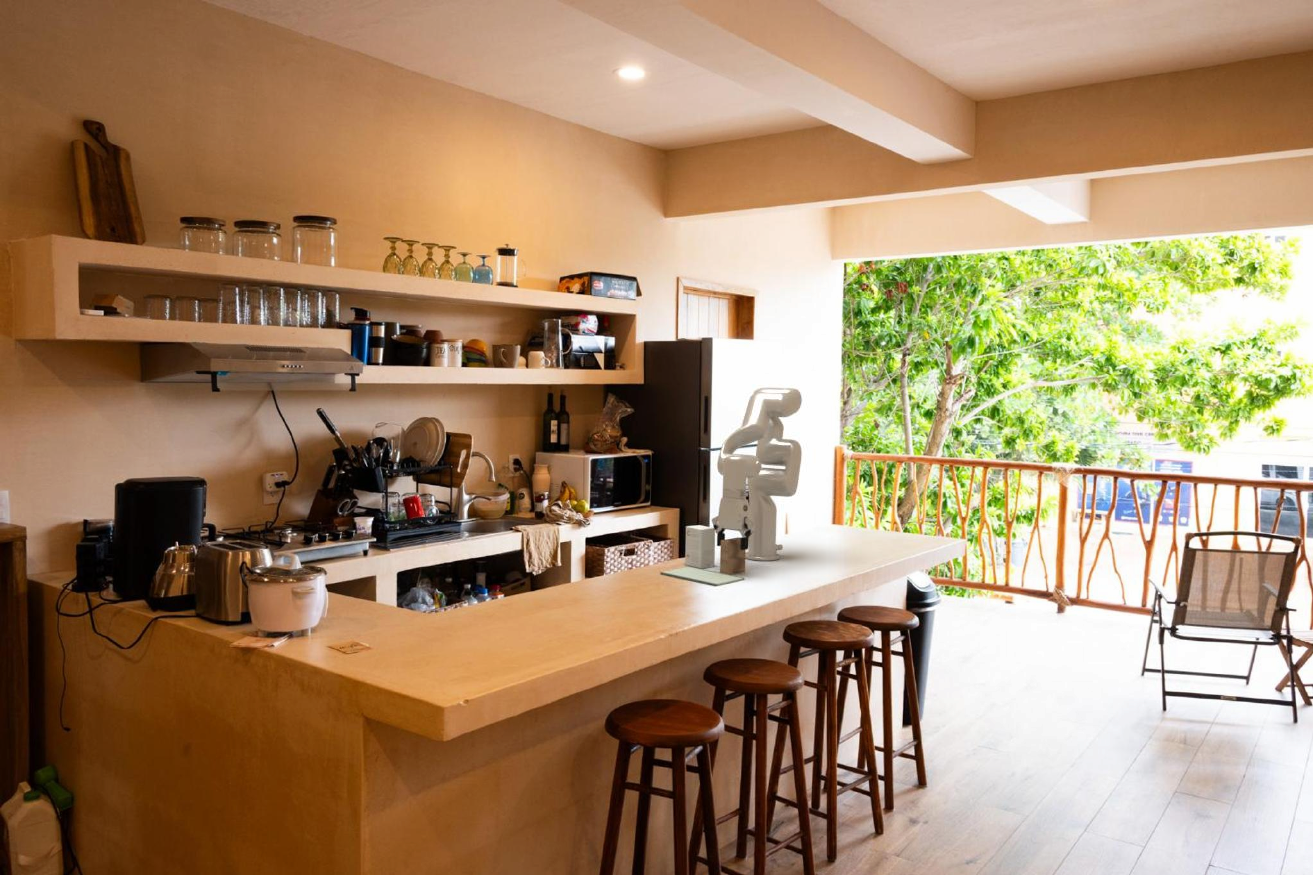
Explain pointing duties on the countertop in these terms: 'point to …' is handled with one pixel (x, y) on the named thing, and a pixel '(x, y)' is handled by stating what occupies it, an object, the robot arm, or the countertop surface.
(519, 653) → the countertop surface
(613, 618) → the countertop surface
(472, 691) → the countertop surface
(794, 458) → the robot arm
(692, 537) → the small box
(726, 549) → the slab
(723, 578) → the mat
